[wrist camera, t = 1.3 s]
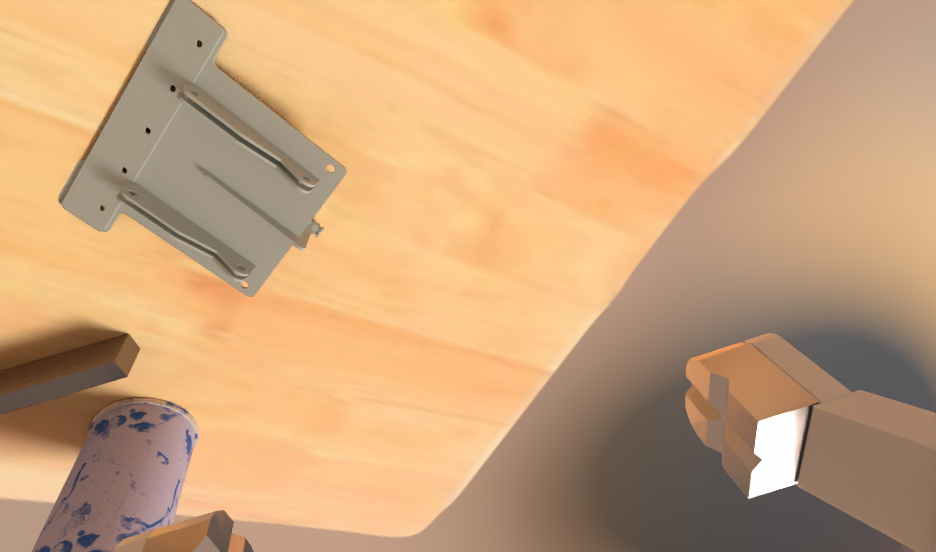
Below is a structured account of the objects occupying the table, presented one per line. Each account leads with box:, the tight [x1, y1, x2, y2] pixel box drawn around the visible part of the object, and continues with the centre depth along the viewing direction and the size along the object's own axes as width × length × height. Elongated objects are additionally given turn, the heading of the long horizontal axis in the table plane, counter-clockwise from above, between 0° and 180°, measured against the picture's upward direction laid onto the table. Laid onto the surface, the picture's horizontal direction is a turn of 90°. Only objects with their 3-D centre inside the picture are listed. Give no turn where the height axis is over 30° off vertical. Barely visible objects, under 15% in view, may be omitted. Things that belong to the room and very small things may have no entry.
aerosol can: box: [32, 398, 199, 552], centre depth 34 cm, size 8×8×20 cm
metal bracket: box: [60, 0, 346, 297], centre depth 32 cm, size 14×6×15 cm
